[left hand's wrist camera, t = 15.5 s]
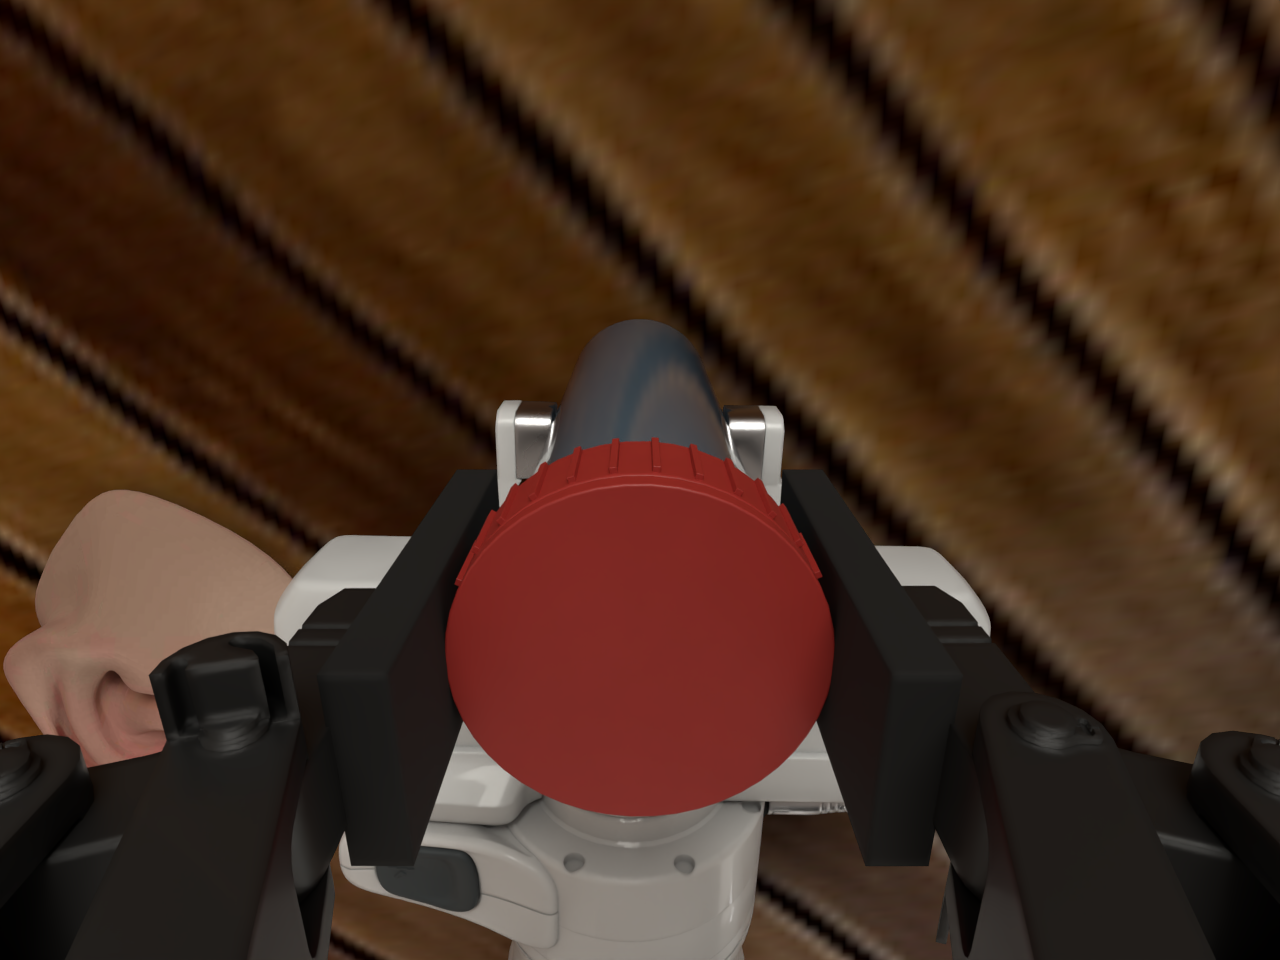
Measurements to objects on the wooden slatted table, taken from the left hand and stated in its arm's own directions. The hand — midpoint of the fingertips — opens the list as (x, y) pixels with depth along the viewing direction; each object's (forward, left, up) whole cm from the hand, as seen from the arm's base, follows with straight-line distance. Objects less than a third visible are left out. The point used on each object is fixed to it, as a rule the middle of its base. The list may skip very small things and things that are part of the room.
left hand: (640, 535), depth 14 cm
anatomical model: (+6, +20, -13) cm, 25 cm away
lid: (0, 0, +4) cm, 4 cm away
